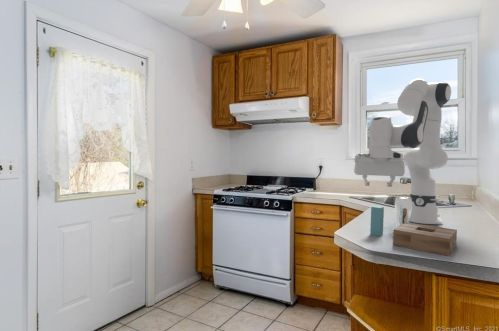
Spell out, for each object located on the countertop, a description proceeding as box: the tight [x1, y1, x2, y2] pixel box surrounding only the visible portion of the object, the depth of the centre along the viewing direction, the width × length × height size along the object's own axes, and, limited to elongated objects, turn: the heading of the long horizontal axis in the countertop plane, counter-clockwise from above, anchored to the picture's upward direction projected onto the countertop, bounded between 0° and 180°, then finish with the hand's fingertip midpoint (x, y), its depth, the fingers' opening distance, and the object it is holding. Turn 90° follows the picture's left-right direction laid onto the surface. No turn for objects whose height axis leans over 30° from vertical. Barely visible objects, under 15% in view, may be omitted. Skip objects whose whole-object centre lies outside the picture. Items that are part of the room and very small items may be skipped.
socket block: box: [392, 222, 458, 257], centre depth 116 cm, size 18×18×6 cm
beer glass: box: [394, 196, 412, 229], centre depth 140 cm, size 7×7×15 cm
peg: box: [369, 205, 385, 237], centre depth 131 cm, size 4×4×12 cm
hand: (378, 186), depth 130 cm, fingers open, 8 cm apart
